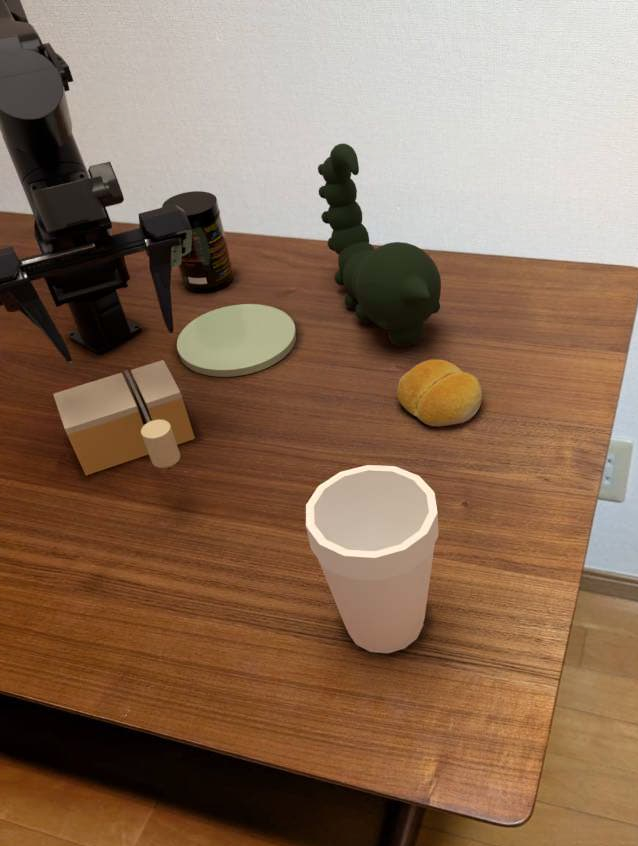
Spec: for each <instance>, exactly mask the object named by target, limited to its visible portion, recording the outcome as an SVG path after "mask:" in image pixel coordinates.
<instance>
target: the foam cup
mask: <svg viewBox="0 0 638 846" xmlns="http://www.w3.org/2000/svg"><path fill="white" fill-rule="evenodd" d="M438 515H439V514H438V507H437V500H436V493H435V491H434V490H433V489H432V488H431V487H430V486H429V485H428V484H427V482H426V481H425V480H424V479H423V478H422V477H421V476H420V475H418V474H415V473H413V472H411V471H409V470H406V469H403V468H401V467H399V466H396V465H395V466H394V465H375V464H366V465H362V466H358V467H354V468H350V469H345V470H342V471H339V472H338V473H336V474H334V475H333V476H331V477H330V478H329V479H327V480H326V481H324V482H322V483H321V484H319V485H318V486H317V487H316V489H315V491H314V492H313V493H312V495H311V497H310V498H309V499H308V502H307V503H306V504H305V528H306V533H307V537H308V542H309V547H310V550H311V551H312V553H313V554H314V556H315V557H316V558H317V560H318V563H319V566H320V568H321V571H322V573H323V576H324V578H325V580H326V583H327V586H328V587H329V590H330V593H331V595H332V597H333V600H334V602H335V605H336V608H337V610H338V612H339V614H340V617H341V619H342V623H343V625H344V628H345V629H346V631H347V633H348V635H349V636H350V638H351V639H352V641H353V642H354V644H355V645H356V646H358V647H360V648H362V649H364V650H366V651H367V652H370V653H377V654H378V653H379V654H390V653H391V654H392V653H394V652H397V651H400V650H405V649H406V648H407V647H408V646H410V645H411V644H412V643H413V642H415V641H416V640H417V639H418V638H419V636H420V633H421V632H422V630H423V627H424V622H425V618H426V612H427V603H428V596H429V588H430V582H431V581H430V580H431V576H432V575H431V574H432V567H433V559H434V552H435V546H436V545H435V544H436V542H437V540H438V538H439V516H438Z"/></svg>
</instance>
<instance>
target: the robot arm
mask: <svg viewBox="0 0 638 846" xmlns="http://www.w3.org/2000/svg"><path fill="white" fill-rule="evenodd" d="M72 82H74V78H73V74H72V72H71V69H70V66H69V64H68V63H67V62H66V60H65V59H64V58H63V57H62V56H61V55H60V54H58V53H57V52H56V51H55V49H54V47H52V45H51V43H50V42H45V43H43V42H42V40H41V37H40V34H39V33H38V32H37V30H36V29H35V27H34V26H33V25H32V24H31V23H30V22H29V19H28V16H27V14H26V12H25V8H24V7H23V4H22V1H21V0H0V133H1V136H2V139H3V143H4V144H5V146H6V149H7V152H8V154H9V158H10V160H11V162H12V165H13V167H14V169H15V173H16V174H17V176H18V179H19V183H20V185H21V187H22V189H23V192H24V195H25V197H26V200H27V202H28V204H29V207H30V209H31V212H32V215H33V218H34V224H33V229H34V231H33V234H34V238H35V239H36V243H37V245H38V248H39V250H40V253H39V254H35V255H31V256H29V257H28V256H27V257H23V258H19V257H18V255H17V253H16V251H15V248H14V247H13V246H12V245H11V246H7V247H2V248H0V307H4V309H5V310H6V311H7V312H8V313H15V312H21V314H23V315H24V316H25V317H26V318H27V319H28V320H29V321H30V322H31V323H33V325H35V326H36V327H37V328H38V329H39V331H41V332H42V334H43V335H44V336H45V337H46V339H48V341H49V342H50V343H51V344H52V346H53V347H54V348H55V349H56V350H57V351H58V353H59V354H60V355H61V356H62V357H63V359H64V360H65V361H66V363H68V364H73V362H74V361H73V358H72V356H71V353H70V351H69V348H68V346H67V344H66V342H65V339H64V338H63V336H62V334H61V333H60V331H59V329H58V328H57V326H56V324H55V322H54V321H53V318H52V317H51V315H50V314H49V312H48V310H47V307H46V306H45V304H44V303H43V301H42V299H41V297H40V296H39V293H38V292H37V290H36V288H35V287H34V285H33V283H32V282H33V281H37V280H41V279H44V281H45V283H46V285H47V289H48V290H49V292H50V293H49V294H50V295H51V298H52V300H53V303H54V305H55V308H59V307H61V306H63V305H67V306H68V308H69V311H70V314H71V316H72V318H73V321H74V324H75V327H76V328H77V329H75V330H73V331H71V332H70V333H68V334H67V337H68V339H69V340H71V341H73V342H74V343H76V344H78V345H80V346H82V347H84V348H86V349H88V350H89V351H92V352H94V353H96V354H98V355H102V354H104V353H106V352H107V351H110V350H111V349H113V348H115V347H117V346H118V345H119V344H122V343H123V342H125V341H126V340H128V339H130V338H131V337H133V336H134V335H136V334H138V333H140V332H142V326H141V325H140V324H138V323H136V322H134V321H131V320H129V319H127V316H126V314H125V311H124V308H123V305H122V303H121V300H120V297H119V294H118V291H117V290H120V289H127V288H129V285H128V282H129V281H130V280H131V276H130V274H129V270H128V268H127V263H126V259H125V257H126V256H130V255H134V254H138V253H141V252H146V254H147V257H148V263H149V271H150V275H151V279H152V283H153V287H154V290H155V293H156V297H157V302H158V305H159V308H160V312H161V316H162V319H163V322H164V324H165V327H166V328H167V331H168V334H173V333H174V331H175V330H174V318H173V306H172V305H173V304H172V290H171V282H172V279H171V278H172V269H173V268H177V267H179V265H180V264H181V256H184V255H186V254H188V253H189V252H191V244H192V228H191V225H190V223H189V220H188V218H187V215H186V213H185V211H184V210H183V209H181V208H180V207H178V206H177V205H175V204H174V205H170V206H166V207H162V206H161V207H158V208H155V209H150V210H148V211H143V212H139V213H138V226H139V227H138V228H134V229H131V230H127V231H123V232H119V233H116V234H113V233H112V230H111V229H113V223H112V220H111V218H110V216H109V213H108V210H107V208H108V207H112V206H115V205H120V204H122V203H123V202H124V201H125V198H124V195H123V191H122V188H121V186H120V185H121V184H120V182H119V180H118V178H117V175H116V172H115V170H114V168H113V164H112V163H111V161H107V162H106V161H105V162H101V163H98V164H93V165H90V166H88V169H87V167H86V164H85V161H84V159H83V157H82V154H81V152H80V148H79V147H78V144H77V141H76V139H75V136H74V134H73V122H72V118H71V113H70V108H69V105H68V100H67V95H66V92H69V91H70V90H71V89H70V86H69V85H70V84H69V83H72Z"/></svg>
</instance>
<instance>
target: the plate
mask: <svg viewBox="0 0 638 846" xmlns="http://www.w3.org/2000/svg"><path fill="white" fill-rule="evenodd" d="M296 341H297V329H296V324H295V322H294V320H293V319H292V317H291V316H290V315H289V314H287V312H285V311H283V310H281V309H279V308H277V307H274V306H271V305H266V304H257V303H242V304H234V305H228V306H227V305H226V306H223V307H220V308H216V309H213V310H210V311H208V312H205V313H204V314H203V313H202V314H201V315H200V316H198V317H196V318H194V319H193V320H192V321H191V322H189V323H188V324H186V326H185V327H183V328H182V330H181V332H180V333H179V335H178V337H177V339H176V350H177V354H178V357H179V359H180V361H181V362H182V364H183V365H184V366H185V367H186V368H188V369H190V370H191V371H193V372H195V373H198V374H201V375H204V376H208V377H219V378H231V377H241V376H245V375H250V374H254V373H257V372H261V371H263V370H265V369H268V368H270V367H272V366H273V365H275V364H277V363H279V362H280V361H281V360H283V359H284V358H286V357H287V356H288V354H289V353H290V352H291V351H292V350H293V348H294V346H295V344H296Z"/></svg>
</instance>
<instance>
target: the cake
mask: <svg viewBox="0 0 638 846" xmlns="http://www.w3.org/2000/svg"><path fill="white" fill-rule="evenodd" d="M129 387H130V386H129V385H128V383H127V381H126V379H125V377H124V374H123V373H122V372H119V373H116V374H112V375H110V376H106V377H103V378H99V379H96V380H93V381H89V382H87V383H86V382H85V383H84V384H81V385H76V386H74V387H70V388H68V389H64V390H61V391H57V392H54V393H53V394H52V396H53V398H54V401H55V404H56V407H57V410H58V413H59V416H60V419H61V423H62V425H63V428H64V431H65V433H66V435H67V437H68V440H69V442H70V444H71V446H72V448H73V451H74V453H75V455H76V458H77V460H78V462H79V464H80V466H81V468H82V470H83V473H84V475H85V476H88V475H92V474H95V473H98V472H101V471H104V470H107V469H109V468H110V469H111V468H112V467H115V466H118V465H122V464H124V463H127V462H130V461H134V460H137V459H139V458H142V457H146V456H149V453H148V451H147V448H146V445H145V443H144V440H143V437H142V435H141V429H142V427H143V426H144V425H145V423H144V421H143V419H142V417H141V415H140V412H139V409H138V407H137V404H136V401H135V398H134V396H133V393H132V391H131V389H130V388H129Z"/></svg>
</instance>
